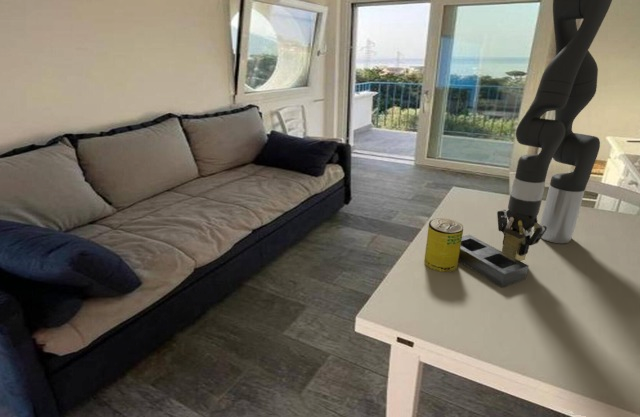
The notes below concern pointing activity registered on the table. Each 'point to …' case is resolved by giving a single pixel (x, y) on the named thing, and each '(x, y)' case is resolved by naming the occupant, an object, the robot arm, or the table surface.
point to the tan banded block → (513, 243)
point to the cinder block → (491, 262)
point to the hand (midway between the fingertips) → (514, 250)
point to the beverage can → (443, 244)
